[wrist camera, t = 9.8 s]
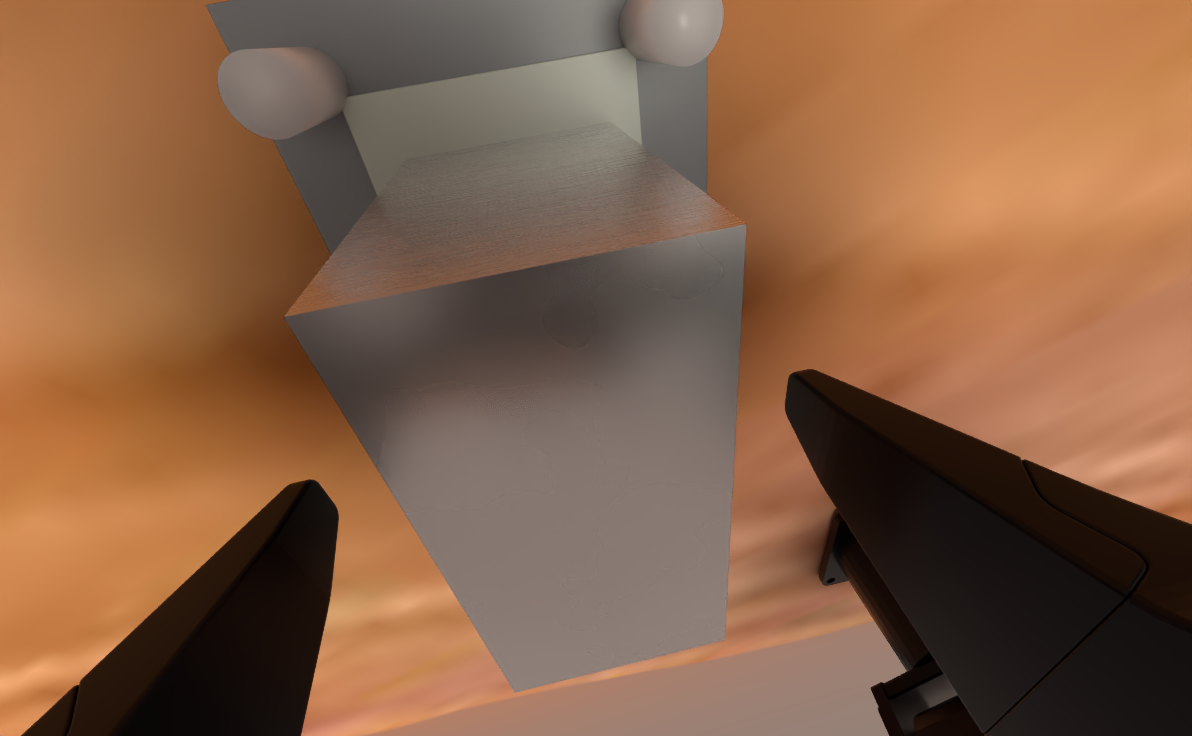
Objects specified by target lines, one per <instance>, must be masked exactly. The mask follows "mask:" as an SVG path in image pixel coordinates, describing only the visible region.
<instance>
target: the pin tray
mask: <svg viewBox="0 0 1192 736" xmlns="http://www.w3.org/2000/svg"><path fill="white" fill-rule="evenodd" d="M206 7H207V9H208V11H209V13H210V15H211V17H212V19H213V21H214V23H215V25H216V27H217V29H218V31H219V33H220V35H221V37H222V39H223V41H224V43H225V45H226V47H227V49H228V51H229V53H230V54H229V55H228V56H227V57H226V58H225V59H224V60H223V61H222V63H221V65H220V67H219V71H218V79H217V81H218V88H219V92H220V95H221V98H222V100H223V102H224V104H225V106H226V108H227V109H228V111H229V112H230V113H231V115H232V116H233V117H234V118H235V119H236V120H237V121H238V122H239V123H240V124H241V125H242V126H244V127H245V128H246V129H248V130H249V131H251V132H253V133H255V134H257V135H259V136H261V137H264V138H268V139H273V140H274V142H275V144H276V146H277V148H278V150H279V152H280V154H281V156H282V158H283V160H284V162H285V164H286V166H287V168H288V170H289V172H290V174H291V176H292V178H293V180H294V182H295V184H296V186H297V188H298V190H299V192H300V194H301V196H302V198H303V200H304V202H305V204H306V206H307V208H308V210H309V212H310V214H311V216H312V218H313V220H314V222H315V224H316V226H317V228H318V230H319V232H320V234H321V236H322V238H323V240H324V242H325V244H326V246H327V248H328V250H329V252H330V254H331V255H332V254H333V252H334V251H335V250H336V248H337V247H338V246H339V245H340V243H341V242H342V241H343V239H344V238H345V237H346V236H347V234H348V233H349V232H350V230H351V229H352V228H353V226H354V225H355V224H356V223H357V221H358V220H359V219H360V217H361V216H362V215H363V213H364V212H365V211H366V210H367V208H368V207H369V206H370V204H371V203H372V202H373V201H374V199H375V198H376V197H377V195H378V194H379V193H380V191H381V190H382V189H383V188H384V186H385V185H386V184H387V182H388V181H389V180H390V179H391V177H392V176H393V175H394V173H395V172H396V171H397V169H398V168H399V167H400V166H401V164H402V163H403V162H404V160H406V159H411V158H417V157H422V156H427V155H433V154H438V153H444V152H449V151H454V150H460V149H465V148H471V147H476V146H481V145H487V144H492V143H498V142H503V141H508V140H514V139H519V138H525V137H530V136H535V135H541V134H546V133H552V132H557V131H562V130H568V129H573V128H579V127H584V126H589V125H595V124H600V123H606V122H612V123H613V124H614V125H616V126H617V127H618V128H620V129H621V130H622V131H624V132H625V133H626V134H628V135H629V136H630V137H632V138H633V139H634V140H636V141H637V142H638V143H640V144H641V145H642V146H644V147H645V148H646V149H648V150H649V151H650V152H652V153H653V154H654V155H656V156H657V157H658V158H659V159H661V160H662V161H663V162H665V163H666V164H667V165H669V166H670V167H671V168H673V169H674V170H675V171H677V172H678V173H679V174H681V175H682V176H683V177H685V178H686V179H687V180H689V181H690V182H691V183H693V184H694V185H695V186H697V187H698V188H699V189H701V190H702V191H703V192H705V193H706V194H707V55H708V54H709V53H710V52H711V51H712V50H713V48H714V47H715V45H716V43H717V41H718V39H719V36H720V34H721V30H722V25H723V5H722V1H721V0H232V1H226V2H220V3H214V4H208V5H206Z"/></svg>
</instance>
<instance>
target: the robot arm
mask: <svg viewBox="0 0 1192 736" xmlns="http://www.w3.org/2000/svg"><path fill="white" fill-rule="evenodd" d="M785 411H786V415H787V417H788V419H789V421H790V423H791V425H792V427H793V429H794V431H795V433H796V435H797V437H798V439H799V441H800V443H801V445H802V447H803V449H804V451H805V453H806V455H807V457H808V459H809V461H810V463H811V465H812V467H813V469H814V471H815V473H816V475H817V477H818V479H819V481H820V483H821V484H822V486H823V488H824V489H825V491H826V493H827V494H828V496H829V497H830V499H831V500H832V502H833V503H834V505H835V507H836V508H837V510H838V511H839V512H838V513H837V514H836V515H835V517H834V520H833V524H832V528H831V532H830V535H829V539H828V543H827V547H826V551H825V554H824V558H823V562H822V566H821V569H820V573H819V579H820V580H821V582H822V584H823V585H825V586H828V585H833V584H837V583H841V582H845V581H849V582H850V583H851V585H852V587H853V588H854V590H855V591H856V593H857V594H858V596H859V597H860V599H861V601H862V602H863V604H864V605H865V607H866V608H867V610H868V611H869V613H870V614H871V616H872V618H873V619H874V621H875V622H876V624H877V625H878V627H879V628H880V630H881V632H882V633H883V635H884V636H885V638H886V639H887V641H888V642H889V644H890V645H891V647H892V649H893V650H894V652H895V653H896V655H897V656H898V658H899V660H900V661H901V663H902V664H903V666H904V667H905V669H906V670H907V672H905V673H903V674H901V675H900V676H898V677H896V678H894V679H892V680H890V681H888V682H886V683H882V682H880V683H879V684H877V685H875V686H873V687H871V691H872V693H873V695H874V698H875V700H876V702H877V704H878V706H879V707H878V711H879V713H880V716H881V718H882V720H883V722H884V725H885V727H886V729H887V731H888V734H889V736H1192V524H1189V523H1187V522H1184V521H1181V520H1179V519H1176V518H1173V517H1170V516H1168V515H1165V514H1162V513H1159V512H1157V511H1154V510H1151V509H1148V508H1146V507H1143V506H1141V505H1138V504H1135V503H1133V502H1130V501H1127V500H1125V499H1122V498H1119V497H1117V496H1114V495H1111V494H1109V493H1106V492H1104V491H1101V490H1098V489H1096V488H1093V487H1091V486H1088V485H1086V484H1084V483H1081V482H1079V481H1076V480H1074V479H1071V478H1069V477H1066V476H1064V475H1062V474H1059V473H1057V472H1054V471H1052V470H1050V469H1047V468H1045V467H1042V466H1040V465H1038V464H1035V463H1033V462H1031V461H1028V460H1021V458H1020V457H1019V456H1016V455H1014V454H1012V453H1009V452H1007V451H1005V450H1002V449H1000V448H998V447H995V446H993V445H991V444H988V443H986V442H983V441H981V440H979V439H976V438H974V437H972V436H969V435H967V434H965V433H962V432H960V431H958V430H955V429H953V428H951V427H948V426H946V425H944V424H941V423H939V422H936V421H934V420H932V419H929V418H927V417H925V416H922V415H920V414H918V413H915V412H913V411H911V410H908V409H906V408H904V407H901V406H899V405H897V404H894V403H892V402H889V401H887V400H885V399H882V398H880V397H878V396H875V395H873V394H871V393H868V392H866V391H864V390H861V389H859V388H857V387H854V386H852V385H850V384H847V383H845V382H843V381H840V380H838V379H835V378H833V377H831V376H828V375H826V374H824V373H821V372H819V371H817V370H814V369H807V370H802V371H798V372H794V373H792V374H791V375H790V376H789V379H788V385H787V393H786V400H785ZM338 521H339V515H338V510H337V508H336V506H335V504H334V503H333V501H332V500H331V499H330V497H329V496H328V495H327V493H326V492H325V491H324V489H323V488H322V487H321V485H320V484H319V483H318V482H317V481H315V480H305V481H300V482H296V483H292V484H289V485H288V486H286V487H285V488H284V489H283V490H282V491H281V492H280V493H279V494H278V495H277V496H276V497H275V498H274V499H272V500H271V501H270V502H269V503H268V504H267V505H266V506H265V507H264V508H263V509H262V510H261V511H260V512H259V513H258V514H257V515H256V516H254V517H253V518H252V519H251V520H250V521H249V522H248V523H247V524H246V525H245V526H244V527H243V528H242V529H241V530H240V531H239V532H237V533H236V534H235V535H234V536H233V537H232V538H231V539H230V540H229V541H228V542H227V543H226V544H225V545H224V546H223V547H222V548H220V549H219V550H218V551H217V552H216V553H215V554H214V555H213V556H212V557H211V558H210V559H209V560H208V561H207V562H206V563H205V564H203V565H202V566H201V567H200V568H199V569H198V570H197V571H196V572H195V573H194V574H193V575H192V576H191V577H190V578H189V579H188V580H186V581H185V582H184V583H183V584H182V585H181V586H180V587H179V588H178V589H177V590H176V591H175V592H174V593H173V594H172V595H171V596H169V597H168V598H167V599H166V600H165V601H164V602H163V603H162V604H161V605H160V606H159V607H158V608H157V609H156V610H155V611H154V612H152V613H151V614H150V615H149V616H148V617H147V618H146V619H145V620H144V621H143V622H142V623H141V624H140V625H139V626H138V627H137V628H135V629H134V630H133V631H132V632H131V633H130V634H129V635H128V636H127V637H126V638H125V639H124V640H123V641H122V642H121V643H120V644H118V645H117V646H116V647H115V648H114V649H113V650H112V651H111V652H110V653H109V654H108V655H107V656H106V657H105V658H104V659H103V660H101V661H100V662H99V663H98V664H97V665H96V666H95V667H94V668H93V669H92V670H91V671H90V672H89V673H88V674H87V675H86V676H84V677H83V678H82V679H81V681H80V684H79V685H76V686H74V687H73V688H72V689H70V690H69V691H68V692H67V693H66V694H65V695H64V696H63V697H62V698H61V699H60V700H59V701H58V702H57V703H56V704H55V705H54V706H53V707H52V708H50V709H49V710H48V711H47V712H46V713H45V714H44V715H43V716H42V717H41V718H40V719H39V720H38V721H36V722H35V723H34V724H33V725H32V726H31V727H30V728H29V729H28V730H27V731H26V732H25V733H23V734H22V735H21V736H301V733H302V728H303V724H304V719H305V714H306V710H307V705H308V700H309V696H310V691H311V687H312V682H313V677H314V673H315V668H316V663H317V659H318V654H319V650H320V645H321V640H322V636H323V631H324V626H325V622H326V617H327V612H328V607H329V602H330V596H331V589H332V580H333V570H334V561H335V551H336V541H337V531H338Z"/></svg>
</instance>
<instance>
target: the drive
mask: <svg viewBox="0 0 1192 736" xmlns="http://www.w3.org/2000/svg"><path fill="white" fill-rule="evenodd" d="M745 243H746V223H744V222H743V221H742V220H740V219H739V218H738V217H736V216H735V215H734V214H732V213H731V212H730V211H728V210H727V209H726V208H724V207H723V206H722V205H720V204H719V203H718V202H716V201H715V200H714V199H713V198H711V197H710V196H709V195H707V194H706V193H705V192H703V191H702V190H701V189H699V188H698V187H697V186H695V185H694V184H693V183H691V182H690V181H689V180H687V179H686V178H685V177H683V176H682V175H681V174H679V173H678V172H677V171H675V170H674V169H673V168H671V167H670V166H669V165H667V164H666V163H665V162H663V161H662V160H661V159H659V158H658V157H657V156H656V155H654V154H653V153H652V152H650V151H649V150H648V149H646V148H645V147H644V146H642V145H641V144H640V143H638V142H637V141H636V140H634V139H633V138H632V137H630V136H629V135H628V134H626V133H625V132H624V131H622V130H621V129H620V128H618V127H617V126H616V125H614V124H613V123H612V122H606V123H600V124H595V125H589V126H584V127H579V128H573V129H568V130H562V131H557V132H552V133H546V134H541V135H535V136H530V137H525V138H519V139H514V140H508V141H503V142H498V143H492V144H487V145H481V146H476V147H471V148H465V149H460V150H454V151H449V152H444V153H438V154H433V155H427V156H422V157H417V158H411V159H406V160H404V162H403V163H402V164H401V166H400V167H399V168H398V169H397V171H396V172H395V173H394V175H393V176H392V177H391V179H390V180H389V181H388V182H387V184H386V185H385V186H384V188H383V189H382V190H381V191H380V193H379V194H378V195H377V197H376V198H375V199H374V201H373V202H372V203H371V204H370V206H369V207H368V208H367V210H366V211H365V212H364V213H363V215H362V216H361V217H360V219H359V220H358V221H357V223H356V224H355V225H354V226H353V228H352V229H351V230H350V232H349V233H348V234H347V236H346V237H345V238H344V239H343V241H342V242H341V243H340V245H339V246H338V247H337V248H336V250H335V251H334V252H333V254H332V255H331V256H330V258H329V259H328V260H327V261H326V263H325V264H324V265H323V267H322V268H321V269H320V270H319V272H318V273H317V274H316V276H315V277H314V278H313V280H312V281H311V282H310V283H309V285H308V286H307V287H306V289H305V290H304V291H303V293H302V294H301V295H300V296H299V298H298V299H297V300H296V302H295V303H294V304H293V305H292V307H291V308H290V309H289V311H288V312H287V313H286V315H285V316H284V318H285V320H286V322H287V323H288V325H289V327H290V328H291V330H292V331H293V333H294V335H295V336H296V338H297V340H298V341H299V343H300V344H301V346H302V348H303V349H304V351H305V353H306V354H307V356H308V357H309V359H310V361H311V362H312V364H313V366H314V367H315V369H316V370H317V372H318V374H319V375H320V377H321V379H322V380H323V382H324V383H325V385H326V387H327V388H328V390H329V392H330V393H331V395H332V396H333V398H334V400H335V401H336V403H337V405H338V406H339V408H340V409H341V411H342V413H343V414H344V416H345V418H346V419H347V421H348V422H349V424H350V426H351V427H352V429H353V431H354V432H355V434H356V435H357V437H358V439H359V440H360V442H361V443H362V445H363V447H364V448H365V450H366V452H367V453H368V455H369V456H370V458H371V460H372V461H373V463H374V465H375V466H376V468H377V469H378V471H379V473H380V474H381V476H382V478H383V479H384V481H385V482H386V484H387V486H388V487H389V489H390V491H391V492H392V494H393V495H394V497H395V499H396V500H397V502H398V504H399V505H400V507H401V508H402V510H403V512H404V513H405V515H406V517H407V518H408V520H409V521H410V523H411V525H412V526H413V528H414V530H415V531H416V533H417V534H418V536H419V538H420V539H421V541H422V543H423V544H424V546H425V547H426V549H427V551H428V552H429V554H430V556H431V557H432V559H433V560H434V562H435V564H436V565H437V567H438V569H439V570H440V572H441V573H442V575H443V577H444V578H445V580H446V582H447V583H448V585H449V586H450V588H451V590H452V591H453V593H454V595H455V596H456V598H457V599H458V601H459V603H460V604H461V606H462V608H463V609H464V611H465V612H466V614H467V616H468V617H469V619H470V621H471V622H472V624H473V625H474V627H475V629H476V630H477V632H478V634H479V635H480V637H481V638H482V640H483V642H484V643H485V645H486V647H487V648H488V650H489V651H490V653H491V655H492V656H493V658H494V660H495V661H496V663H497V664H498V666H499V668H500V669H501V671H502V673H503V674H504V676H505V677H506V679H507V681H508V682H509V684H510V685H511V687H512V689H513V690H514V692H519V691H523V690H527V689H531V688H535V687H539V686H543V685H547V684H551V683H555V682H559V681H563V680H567V679H571V678H575V677H579V676H583V675H587V674H591V673H595V672H599V671H603V670H607V669H611V668H615V667H619V666H623V665H627V664H631V663H635V662H639V661H643V660H647V659H651V658H655V657H659V656H663V655H667V654H671V653H675V652H679V651H683V650H687V649H691V648H695V647H699V646H703V645H707V644H711V643H715V642H719V641H723V640H725V626H726V606H727V587H728V568H729V549H730V530H731V511H732V492H733V473H734V454H735V434H736V415H737V396H738V377H739V358H740V339H741V320H742V301H743V282H744V262H745Z"/></svg>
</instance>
